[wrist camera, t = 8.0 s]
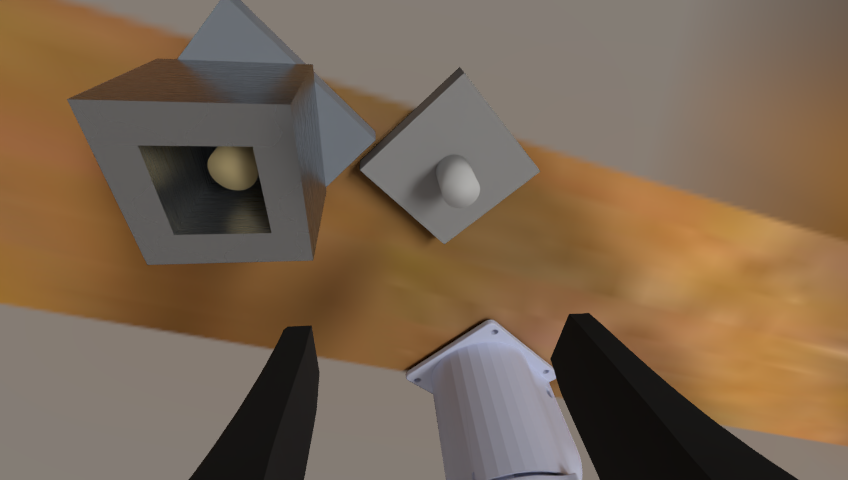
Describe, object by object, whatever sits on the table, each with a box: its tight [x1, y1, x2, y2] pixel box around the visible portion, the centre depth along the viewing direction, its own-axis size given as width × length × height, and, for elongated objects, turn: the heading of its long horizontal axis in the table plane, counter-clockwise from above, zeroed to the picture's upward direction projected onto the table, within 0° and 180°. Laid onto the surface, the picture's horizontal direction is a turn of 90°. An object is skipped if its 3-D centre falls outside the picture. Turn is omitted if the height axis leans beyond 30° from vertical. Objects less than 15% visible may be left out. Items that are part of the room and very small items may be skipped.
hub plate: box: [178, 0, 375, 190], centre depth 15 cm, size 7×7×4 cm
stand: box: [360, 67, 540, 244], centre depth 17 cm, size 6×6×3 cm
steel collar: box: [67, 59, 326, 265], centre depth 13 cm, size 5×5×5 cm
